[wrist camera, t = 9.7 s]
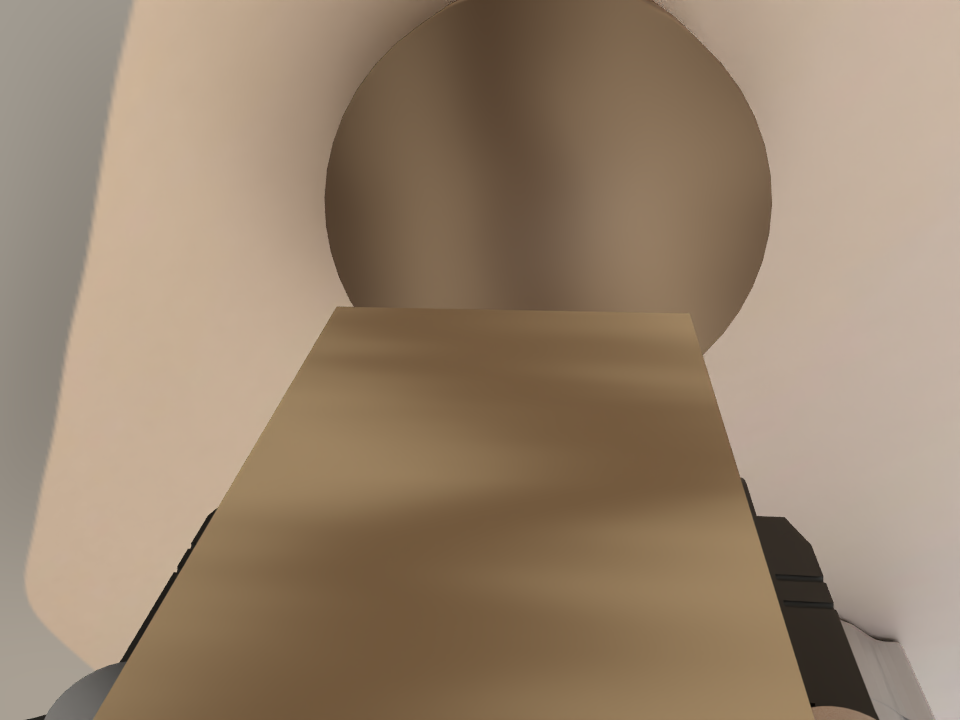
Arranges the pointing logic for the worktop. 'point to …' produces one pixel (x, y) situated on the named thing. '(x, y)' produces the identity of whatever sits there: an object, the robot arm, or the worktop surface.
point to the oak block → (479, 538)
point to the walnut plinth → (550, 167)
